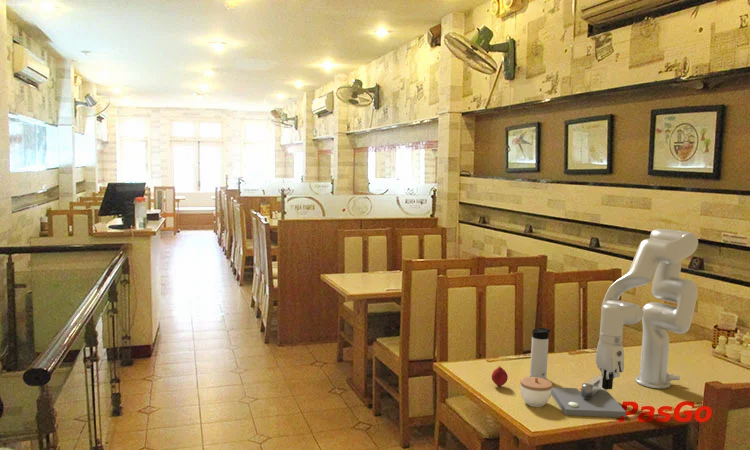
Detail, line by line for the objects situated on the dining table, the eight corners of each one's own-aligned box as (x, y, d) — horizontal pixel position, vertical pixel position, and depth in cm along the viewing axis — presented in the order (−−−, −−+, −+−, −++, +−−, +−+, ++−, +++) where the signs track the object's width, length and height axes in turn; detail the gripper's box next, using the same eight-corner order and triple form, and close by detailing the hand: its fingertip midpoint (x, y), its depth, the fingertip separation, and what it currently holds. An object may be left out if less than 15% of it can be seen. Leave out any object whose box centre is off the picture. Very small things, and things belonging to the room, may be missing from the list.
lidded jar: (542, 412, 206) (544, 385, 205) (513, 403, 213) (515, 377, 212) (556, 403, 214) (557, 377, 213) (528, 395, 221) (529, 370, 220)
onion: (507, 385, 231) (508, 364, 230) (505, 390, 225) (507, 369, 224) (492, 382, 233) (493, 362, 232) (490, 388, 227) (491, 367, 226)
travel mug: (547, 382, 235) (550, 331, 232) (530, 380, 236) (532, 330, 234) (546, 376, 241) (549, 327, 239) (529, 375, 242) (532, 326, 240)
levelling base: (605, 394, 224) (605, 387, 224) (625, 417, 204) (626, 409, 204) (550, 392, 224) (550, 385, 224) (565, 415, 204) (565, 407, 204)
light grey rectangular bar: (589, 401, 211) (590, 387, 211) (579, 398, 214) (580, 385, 213) (604, 389, 223) (605, 376, 222) (595, 387, 225) (595, 374, 224)
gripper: (634, 344, 211) (630, 395, 213) (605, 332, 226) (602, 380, 227) (616, 345, 209) (612, 397, 211) (588, 333, 223) (585, 382, 225)
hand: (607, 388), depth 219 cm, fingers closed
